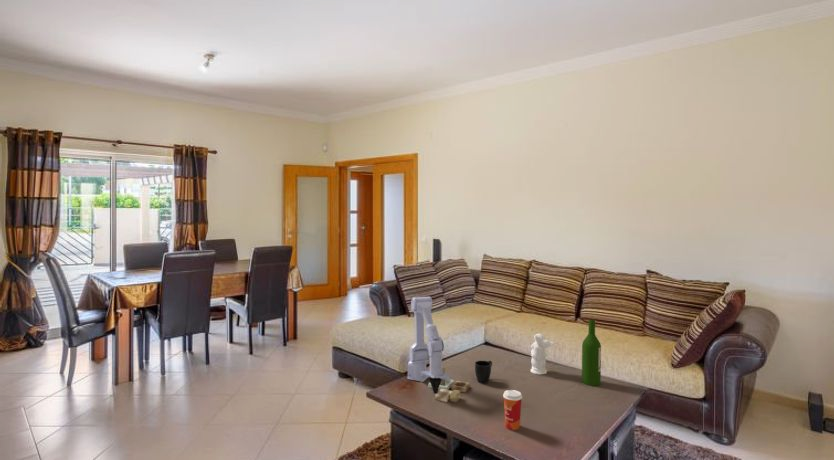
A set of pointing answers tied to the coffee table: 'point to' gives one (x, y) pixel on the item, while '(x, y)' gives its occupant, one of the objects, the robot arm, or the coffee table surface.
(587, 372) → the wine bottle
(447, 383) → the tray
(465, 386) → the socket block
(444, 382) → the dowel
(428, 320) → the robot arm
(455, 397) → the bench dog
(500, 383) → the coffee table surface
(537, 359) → the cherub figurine
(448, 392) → the beige rectangular box
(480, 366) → the mug
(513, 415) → the paper cup
